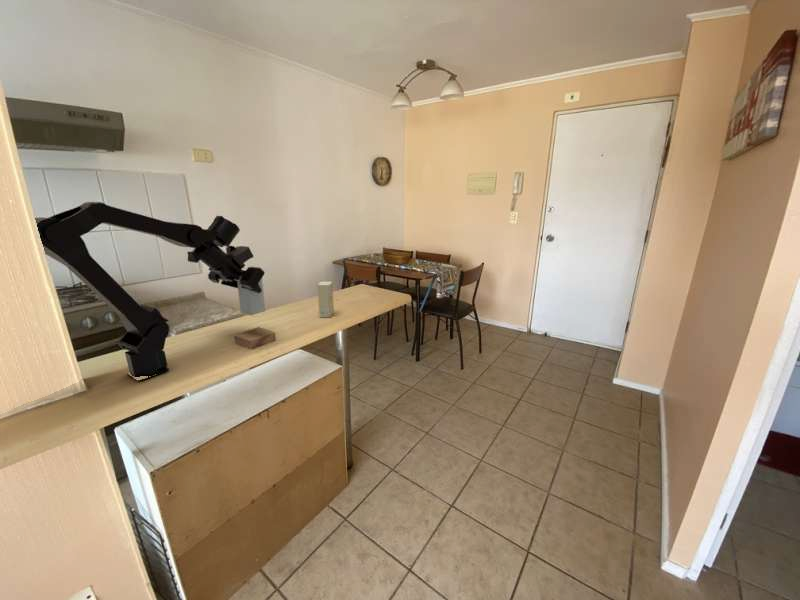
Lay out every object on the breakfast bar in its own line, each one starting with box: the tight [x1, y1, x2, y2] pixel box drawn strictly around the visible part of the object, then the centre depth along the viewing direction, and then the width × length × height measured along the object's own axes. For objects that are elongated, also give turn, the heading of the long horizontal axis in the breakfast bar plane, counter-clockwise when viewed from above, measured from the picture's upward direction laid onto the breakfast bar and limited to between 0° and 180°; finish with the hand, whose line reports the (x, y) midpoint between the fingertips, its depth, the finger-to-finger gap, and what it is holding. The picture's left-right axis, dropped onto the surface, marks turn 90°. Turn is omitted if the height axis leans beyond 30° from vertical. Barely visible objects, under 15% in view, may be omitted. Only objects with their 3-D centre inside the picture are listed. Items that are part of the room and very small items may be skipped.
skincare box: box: [316, 281, 335, 318], centre depth 122 cm, size 6×4×12 cm
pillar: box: [237, 277, 266, 316], centre depth 103 cm, size 5×5×12 cm
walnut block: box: [233, 326, 277, 350], centre depth 98 cm, size 8×8×3 cm
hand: (254, 290), depth 104 cm, fingers closed on pillar, 5 cm apart
